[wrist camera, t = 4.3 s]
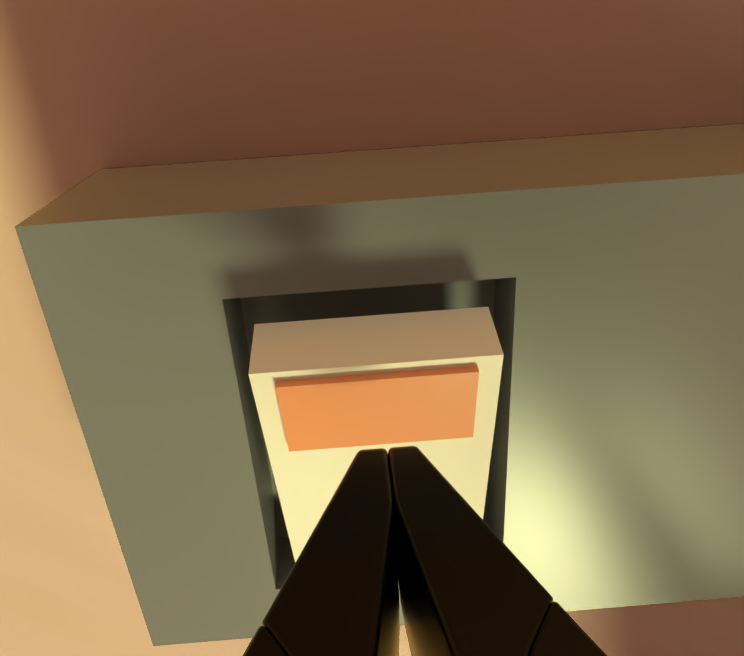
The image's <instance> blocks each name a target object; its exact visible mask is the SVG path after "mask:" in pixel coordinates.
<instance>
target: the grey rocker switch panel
mask: <svg viewBox="0 0 744 656" xmlns="http://www.w3.org/2000/svg"><path fill="white" fill-rule="evenodd" d="M15 228H16V231H17V234H18V237H19V240H20V243H21V246H22V249H23V252H24V256H25V259H26V262H27V265H28V268H29V271H30V274H31V277H32V280H33V283H34V286H35V289H36V292H37V295H38V298H39V301H40V304H41V307H42V310H43V313H44V316H45V319H46V322H47V325H48V328H49V331H50V334H51V337H52V340H53V343H54V346H55V349H56V352H57V355H58V358H59V361H60V364H61V367H62V370H63V374H64V377H65V380H66V383H67V386H68V389H69V392H70V395H71V398H72V401H73V404H74V407H75V410H76V413H77V416H78V419H79V422H80V425H81V428H82V431H83V434H84V437H85V440H86V443H87V446H88V449H89V452H90V455H91V458H92V461H93V464H94V467H95V470H96V473H97V476H98V479H99V482H100V485H101V489H102V492H103V495H104V498H105V501H106V504H107V507H108V510H109V513H110V516H111V519H112V522H113V525H114V528H115V531H116V534H117V537H118V540H119V543H120V546H121V549H122V552H123V555H124V558H125V561H126V564H127V567H128V570H129V573H130V576H131V579H132V582H133V585H134V588H135V591H136V594H137V597H138V600H139V603H140V607H141V610H142V613H143V616H144V619H145V622H146V625H147V628H148V631H149V634H150V637H151V640H152V643H153V646H159V645H171V644H183V643H195V642H207V641H219V640H231V639H243V638H253V637H254V635H255V633H256V631H257V630H258V628H259V627H260V626H262V621H263V619H264V618H265V616H266V614H267V612H268V611H269V609H270V607H271V605H272V603H273V602H274V600H275V598H276V596H277V594H278V593H279V591H280V589H281V587H282V586H283V584H284V582H285V580H286V578H287V577H288V575H289V573H290V571H291V570H292V568H293V566H294V564H295V560H294V556H293V552H292V548H291V544H290V540H289V536H288V531H287V527H286V523H285V519H284V515H283V511H282V507H281V503H280V499H279V495H278V491H277V487H276V483H275V479H274V475H273V471H272V467H271V463H270V459H269V455H268V451H267V447H266V443H265V439H264V435H263V431H262V427H261V423H260V419H259V415H258V411H257V407H256V403H255V399H254V395H253V391H252V387H251V383H250V379H249V375H248V373H249V365H250V357H251V349H252V341H253V333H254V324H264V323H277V322H291V321H304V320H317V319H331V318H344V317H357V316H370V315H384V314H397V313H410V312H424V311H437V310H450V309H463V308H477V307H489V311H490V314H491V317H492V320H493V323H494V326H495V329H496V332H497V335H498V338H499V342H500V345H501V348H502V351H503V354H504V356H503V364H502V372H501V380H500V388H499V396H498V404H497V412H496V420H495V428H494V435H493V443H492V451H491V459H490V467H489V475H488V483H487V491H486V499H485V507H484V515H483V520H484V522H485V523H486V524H487V525H488V526H489V527H490V528H491V529H492V530H493V532H494V533H495V534H496V535H497V536H498V537H499V538H500V539H501V540H502V542H503V543H504V544H505V545H506V546H507V547H508V548H509V549H510V550H511V552H512V553H513V554H514V555H515V556H516V557H517V558H518V559H519V560H520V562H521V563H522V564H523V565H524V566H525V567H526V568H527V569H528V570H529V572H530V573H531V574H532V575H533V576H534V577H535V578H536V579H537V580H538V582H539V583H540V584H541V585H542V586H543V587H544V588H545V589H546V590H547V592H548V593H549V594H550V595H551V596H552V597H553V602H557V603H559V605H560V606H561V607H562V608H563V609H564V610H565V611H578V610H590V609H602V608H614V607H626V606H638V605H650V604H662V603H674V602H686V601H698V600H710V599H721V598H733V597H744V124H730V125H716V126H701V127H687V128H673V129H659V130H645V131H631V132H617V133H603V134H589V135H575V136H560V137H546V138H532V139H518V140H504V141H490V142H476V143H462V144H448V145H434V146H419V147H405V148H391V149H377V150H363V151H349V152H335V153H321V154H307V155H293V156H278V157H264V158H250V159H236V160H222V161H208V162H194V163H180V164H166V165H152V166H137V167H123V168H109V169H100V170H99V171H97V172H96V173H94V174H93V175H91V176H90V177H88V178H87V179H85V180H84V181H82V182H81V183H79V184H78V185H76V186H75V187H73V188H72V189H70V190H69V191H67V192H66V193H64V194H63V195H61V196H60V197H58V198H57V199H55V200H54V201H52V202H51V203H49V204H48V205H46V206H45V207H43V208H42V209H40V210H39V211H37V212H36V213H34V214H33V215H31V216H30V217H29V218H27V219H26V220H24V221H23V222H21V223H20V224H18V225H17V226H15ZM398 585H399V583H398ZM399 603H400V625H405V623H404V618H403V613H402V608H401V601H400V593H399Z"/></svg>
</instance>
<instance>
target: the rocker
mask: <svg viewBox="0 0 744 656" xmlns="http://www.w3.org/2000/svg"><path fill="white" fill-rule="evenodd" d="M503 356H504V354H503V351H502V348H501V345H500V342H499V338H498V335H497V332H496V329H495V326H494V323H493V320H492V317H491V314H490V311H489V307H477V308H463V309H450V310H437V311H424V312H410V313H397V314H384V315H370V316H357V317H344V318H331V319H317V320H304V321H291V322H277V323H264V324H254V333H253V341H252V349H251V357H250V365H249V373H248V375H249V379H250V383H251V387H252V391H253V395H254V399H255V403H256V407H257V411H258V415H259V419H260V423H261V427H262V431H263V435H264V439H265V443H266V447H267V451H268V455H269V459H270V463H271V467H272V471H273V475H274V479H275V483H276V487H277V491H278V495H279V499H280V503H281V507H282V511H283V515H284V519H285V523H286V527H287V531H288V536H289V540H290V544H291V548H292V552H293V556H294V560H295V562H296V561H297V559H298V557H299V555H300V554H301V552H302V550H303V548H304V546H305V545H306V543H307V541H308V539H309V538H310V536H311V534H312V532H313V530H314V529H315V527H316V525H317V523H318V521H319V520H320V518H321V516H322V514H323V513H324V511H325V509H326V507H327V505H328V504H329V502H330V500H331V498H332V497H333V495H334V493H335V491H336V489H337V488H338V486H339V484H340V482H341V481H342V479H343V477H344V475H345V473H346V472H347V470H348V468H349V466H350V464H351V463H352V461H353V459H354V457H355V456H356V454H357V452H358V451H360V450H365V449H378V448H384V449H386V451H387V453H388V451H389V449H390V448H392V447H403V446H416V447H418V448H419V449H420V451H421V452H422V453H423V454H424V455H425V456H426V457H427V458H428V459H429V461H430V462H431V463H432V464H433V465H434V466H435V467H436V468H437V469H438V471H439V472H440V473H441V474H442V475H443V476H444V477H445V478H446V479H447V481H448V482H449V483H450V484H451V485H452V486H453V487H454V488H455V489H456V491H457V492H458V493H459V494H460V495H461V496H462V497H463V498H464V499H465V501H466V502H467V503H468V504H469V505H470V506H471V507H472V508H473V509H474V511H475V512H476V513H477V514H478V515H479V516H480V517H481V518H482V519H483V515H484V507H485V499H486V491H487V483H488V475H489V467H490V459H491V451H492V443H493V435H494V428H495V420H496V412H497V404H498V396H499V388H500V380H501V372H502V364H503Z"/></svg>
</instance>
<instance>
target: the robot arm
mask: <svg viewBox="0 0 744 656" xmlns="http://www.w3.org/2000/svg"><path fill="white" fill-rule="evenodd" d="M398 583H399V585H398ZM399 593H400V601H401V608H402V613H403V618H404V623H405V628H406V633H407V637H408V642H409V646H410V651H411V655H412V656H607V655H606V654H605V653H604V652H603V651H602V650H601V649H600V648H599V647H598V646H597V645H596V644H595V643H594V642H593V640H592V639H591V638H590V637H589V636H588V635H587V634H586V633H585V632H584V631H583V630H582V629H581V628H580V627H579V626H578V625H577V624H576V623H575V621H574V620H573V619H572V618H571V617H570V616H569V615H568V614H567V612H566V611H565V610H564V609H563V608H562V607H561V606H560V605H559V603H557V602H553V597H552V596H551V595H550V594H549V593H548V592H547V590H546V589H545V588H544V587H543V586H542V585H541V584H540V583H539V582H538V580H537V579H536V578H535V577H534V576H533V575H532V574H531V573H530V572H529V570H528V569H527V568H526V567H525V566H524V565H523V564H522V563H521V562H520V560H519V559H518V558H517V557H516V556H515V555H514V554H513V553H512V552H511V550H510V549H509V548H508V547H507V546H506V545H505V544H504V543H503V542H502V540H501V539H500V538H499V537H498V536H497V535H496V534H495V533H494V532H493V530H492V529H491V528H490V527H489V526H488V525H487V524H486V523H485V522H484V520H483V519H482V518H481V517H480V516H479V515H478V514H477V513H476V512H475V511H474V509H473V508H472V507H471V506H470V505H469V504H468V503H467V502H466V501H465V499H464V498H463V497H462V496H461V495H460V494H459V493H458V492H457V491H456V489H455V488H454V487H453V486H452V485H451V484H450V483H449V482H448V481H447V479H446V478H445V477H444V476H443V475H442V474H441V473H440V472H439V471H438V469H437V468H436V467H435V466H434V465H433V464H432V463H431V462H430V461H429V459H428V458H427V457H426V456H425V455H424V454H423V453H422V452H421V451H420V449H419V448H418V447H416V446H403V447H392V448H390V449H389V451H388V453H387V451H386V449H384V448H378V449H365V450H360V451H358V452H357V454H356V456H355V457H354V459H353V461H352V463H351V464H350V466H349V468H348V470H347V472H346V473H345V475H344V477H343V479H342V481H341V482H340V484H339V486H338V488H337V489H336V491H335V493H334V495H333V497H332V498H331V500H330V502H329V504H328V505H327V507H326V509H325V511H324V513H323V514H322V516H321V518H320V520H319V521H318V523H317V525H316V527H315V529H314V530H313V532H312V534H311V536H310V538H309V539H308V541H307V543H306V545H305V546H304V548H303V550H302V552H301V554H300V555H299V557H298V559H297V561H296V562H295V564H294V566H293V568H292V570H291V571H290V573H289V575H288V577H287V578H286V580H285V582H284V584H283V586H282V587H281V589H280V591H279V593H278V594H277V596H276V598H275V600H274V602H273V603H272V605H271V607H270V609H269V611H268V612H267V614H266V616H265V618H264V619H263V621H262V626H260V627H259V628H258V630H257V631H256V633H255V635H254V637H253V638H252V640H251V642H250V644H249V646H248V647H247V649H246V651H245V653H244V654H243V656H399V630H400V603H399Z"/></svg>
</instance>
